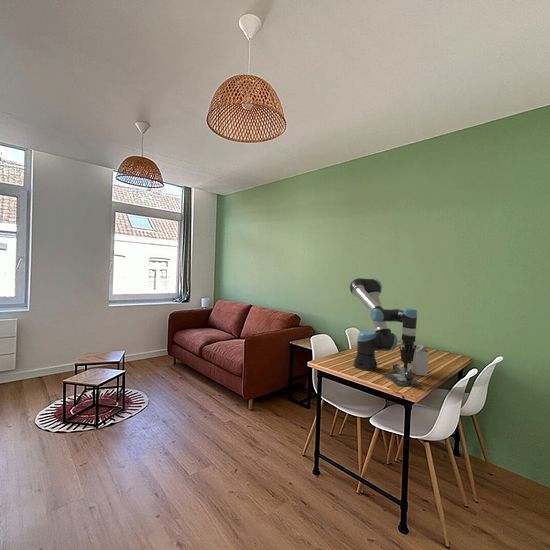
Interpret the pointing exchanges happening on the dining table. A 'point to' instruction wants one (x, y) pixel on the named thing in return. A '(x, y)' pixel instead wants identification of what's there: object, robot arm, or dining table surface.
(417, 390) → the dining table surface
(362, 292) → the robot arm
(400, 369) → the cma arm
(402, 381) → the plate
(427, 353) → the milk carton
